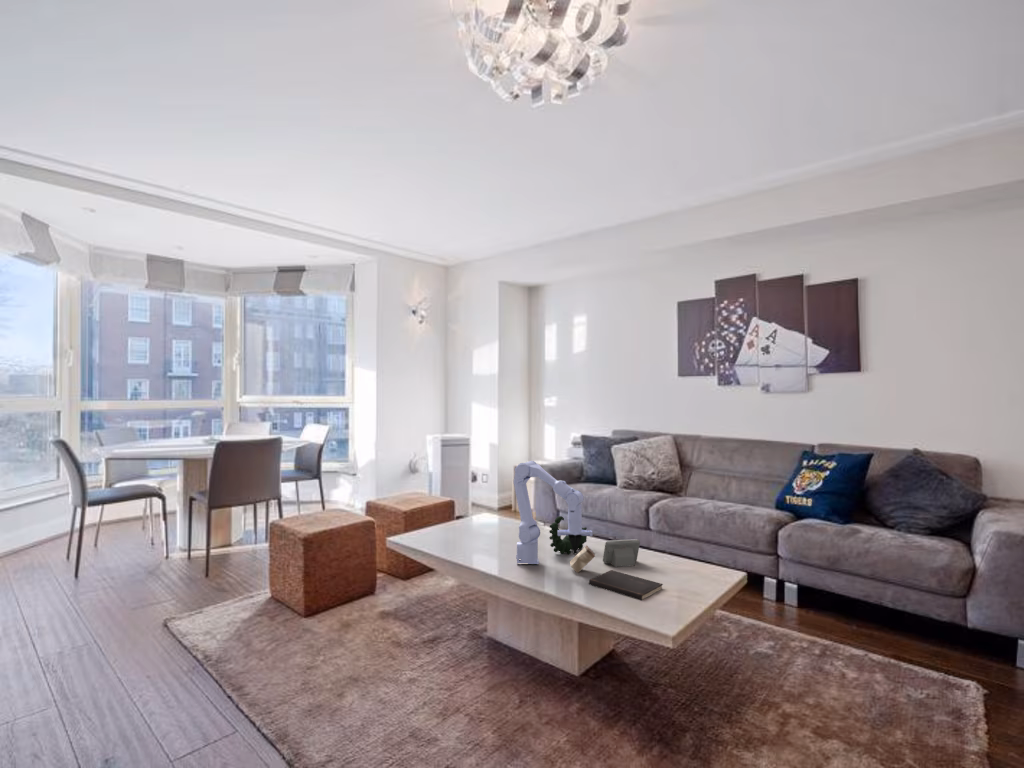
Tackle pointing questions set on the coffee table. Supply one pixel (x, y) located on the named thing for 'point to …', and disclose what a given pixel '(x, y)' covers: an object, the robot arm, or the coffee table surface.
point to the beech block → (582, 559)
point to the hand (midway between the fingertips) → (574, 552)
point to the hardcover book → (626, 584)
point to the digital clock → (621, 552)
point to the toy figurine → (565, 543)
